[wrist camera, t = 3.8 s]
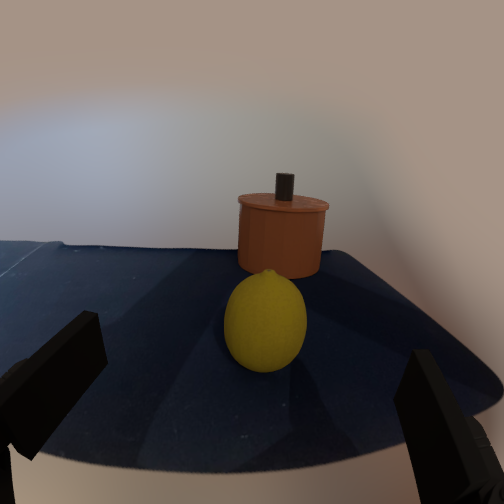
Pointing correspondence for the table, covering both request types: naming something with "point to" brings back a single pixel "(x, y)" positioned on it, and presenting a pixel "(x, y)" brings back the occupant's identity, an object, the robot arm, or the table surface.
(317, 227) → the pot
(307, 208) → the pot lid
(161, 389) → the table surface
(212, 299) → the table surface
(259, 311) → the lemon
